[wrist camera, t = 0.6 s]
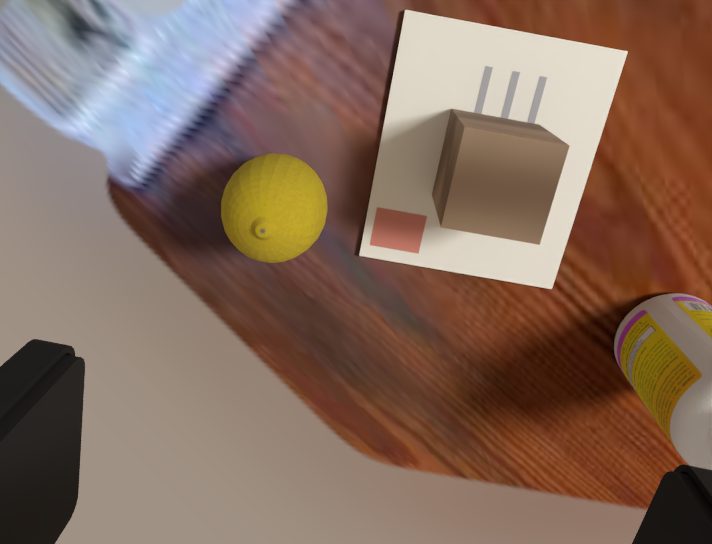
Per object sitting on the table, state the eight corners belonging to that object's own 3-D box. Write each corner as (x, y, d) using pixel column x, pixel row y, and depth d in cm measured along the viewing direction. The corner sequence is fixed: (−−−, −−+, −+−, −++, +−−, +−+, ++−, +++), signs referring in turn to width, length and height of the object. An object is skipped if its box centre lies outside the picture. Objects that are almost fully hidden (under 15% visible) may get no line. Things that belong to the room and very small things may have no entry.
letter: (404, 9, 33) (405, 9, 33) (625, 51, 34) (627, 51, 33) (359, 253, 39) (359, 255, 38) (550, 287, 39) (551, 289, 39)
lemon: (312, 245, 39) (296, 301, 31) (226, 211, 38) (189, 259, 31) (347, 163, 37) (338, 201, 29) (257, 125, 36) (225, 154, 29)
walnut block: (451, 108, 35) (464, 126, 29) (539, 124, 35) (569, 145, 29) (431, 194, 37) (441, 227, 31) (515, 210, 37) (539, 245, 31)
